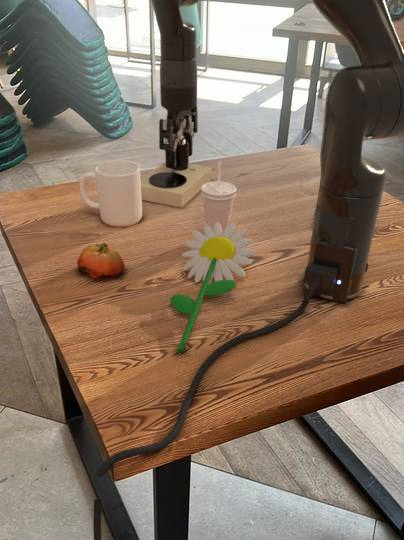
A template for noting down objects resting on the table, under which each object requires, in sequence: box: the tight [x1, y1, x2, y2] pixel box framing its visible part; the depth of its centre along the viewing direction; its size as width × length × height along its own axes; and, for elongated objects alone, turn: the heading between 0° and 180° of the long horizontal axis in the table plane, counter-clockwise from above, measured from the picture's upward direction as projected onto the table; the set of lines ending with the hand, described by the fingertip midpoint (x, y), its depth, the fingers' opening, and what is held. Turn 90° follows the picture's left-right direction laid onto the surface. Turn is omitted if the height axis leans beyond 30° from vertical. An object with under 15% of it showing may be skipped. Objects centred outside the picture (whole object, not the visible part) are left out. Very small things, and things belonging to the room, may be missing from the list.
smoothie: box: [200, 161, 237, 232], centre depth 103 cm, size 6×6×14 cm
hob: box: [140, 160, 213, 209], centre depth 124 cm, size 17×11×3 cm, turn 157°
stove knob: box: [172, 138, 190, 170], centre depth 125 cm, size 4×4×6 cm
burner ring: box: [149, 172, 187, 188], centre depth 121 cm, size 8×8×1 cm
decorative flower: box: [169, 222, 257, 354], centre depth 90 cm, size 13×5×30 cm
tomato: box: [76, 242, 125, 279], centre depth 96 cm, size 8×7×7 cm
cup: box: [79, 159, 143, 228], centre depth 110 cm, size 8×12×10 cm
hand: (179, 161), depth 126 cm, fingers open, 8 cm apart
